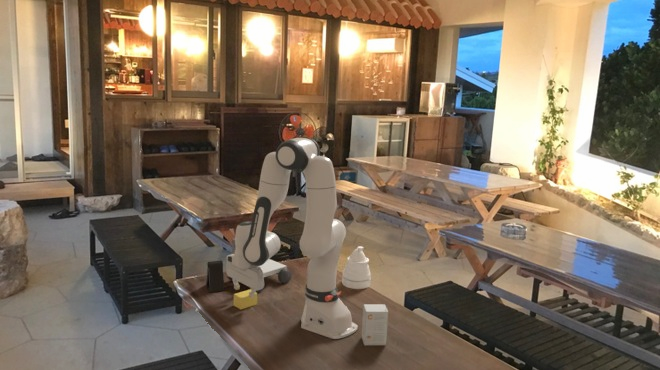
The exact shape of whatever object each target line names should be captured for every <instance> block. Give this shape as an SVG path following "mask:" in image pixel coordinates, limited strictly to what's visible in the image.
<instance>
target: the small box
mask: <svg viewBox="0 0 660 370" xmlns="http://www.w3.org/2000/svg"><path fill="white" fill-rule="evenodd" d="M362 308H363V309H362V321H361V323H362V324H361V340H362V343H363V345H364V346H387V337H388V323H389V321H388V320H389V310H388V307H387V306H386V304H385V303H384V304H381V303H380V304H379V303H377V304H374V303H373V304H371V303H370V304H368V303H367V304H366V303H364V304H363V305H362Z"/></svg>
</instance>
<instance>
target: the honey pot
mask: <svg viewBox="0 0 660 370" xmlns="http://www.w3.org/2000/svg"><path fill="white" fill-rule="evenodd" d="M363 249H364V246H359V245H358V246H357V248H355V249H354V250H353V251H352V253H350V255H349V256H348V257H347V258H346V259H347V261H346V263H345V266H344V269H343V271H342V277H341V278H342V279H341V284H342V285H343V286H344V287H346V288H349V289H353V290H363V289H367V288H369V287H370V286H371V275H372V273H371V271H370V265H369V264H368V263H369V262H370V259H369V258H368V257H366V255H365V253H364V251H363Z"/></svg>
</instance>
